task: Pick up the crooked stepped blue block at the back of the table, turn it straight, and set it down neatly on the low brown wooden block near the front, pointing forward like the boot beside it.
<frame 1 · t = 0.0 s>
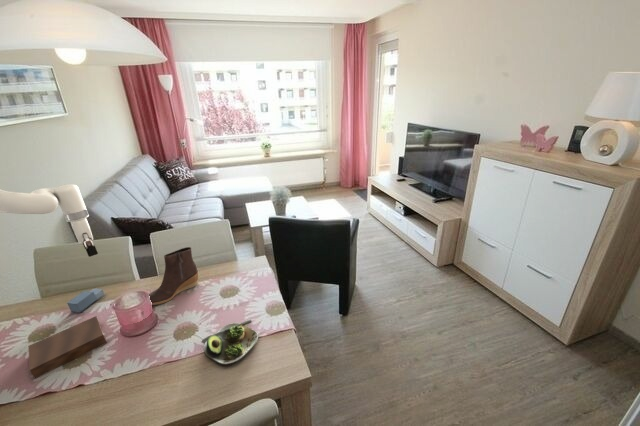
hand: (91, 251, 125), 23 cm above the table, tool pointing down, fingers open, 9 cm apart
salad plate: (230, 345, 104), on the table
boot: (174, 293, 133), on the table
stepped blue block: (88, 303, 129), on the table
brown wooden block: (70, 348, 106), on the table
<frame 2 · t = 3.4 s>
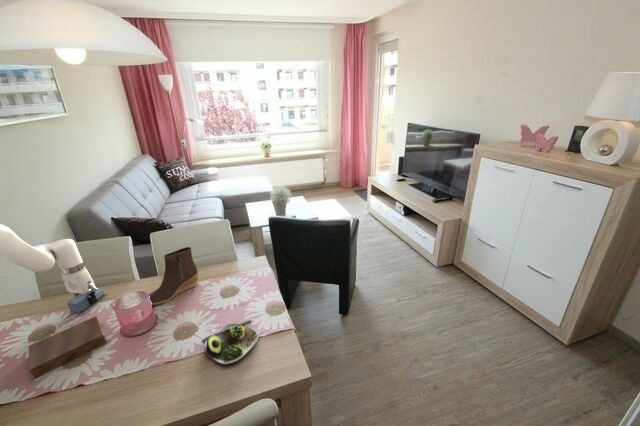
hand: (88, 302, 129), 1 cm above the table, tool pointing down, fingers closed on stepped blue block, 5 cm apart
stepped blue block: (88, 303, 129), on the table, touching gripper
everything else where it was.
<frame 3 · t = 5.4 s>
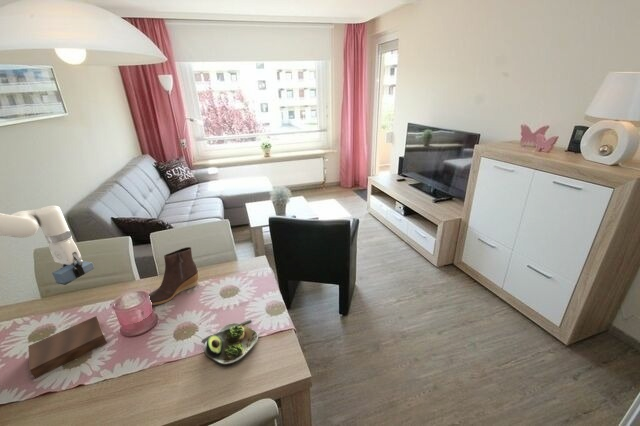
hand: (75, 274, 123), 15 cm above the table, tool pointing down, fingers closed on stepped blue block, 5 cm apart
stepped blue block: (76, 275, 123), point 15 cm above the table, touching gripper
everything else where it was.
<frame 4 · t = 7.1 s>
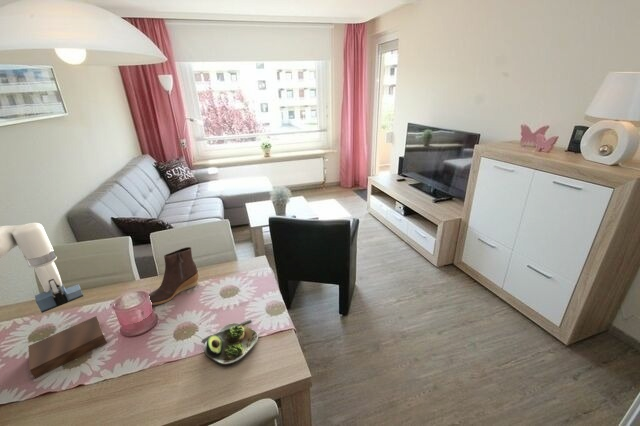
hand: (61, 300, 107), 15 cm above the table, tool pointing down, fingers closed on stepped blue block, 5 cm apart
stepped blue block: (62, 301, 108), point 15 cm above the table, touching gripper
everything else where it was.
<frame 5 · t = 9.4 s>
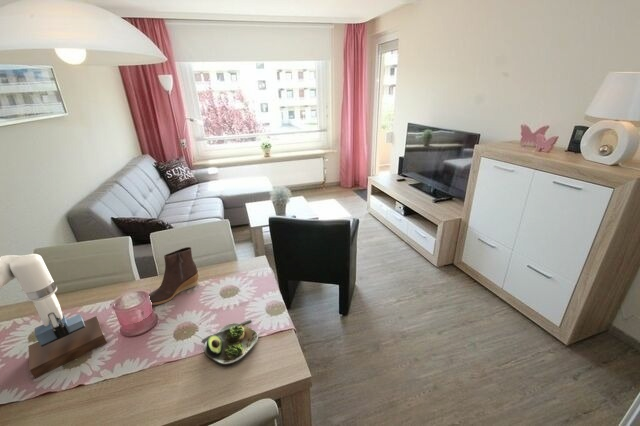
hand: (62, 331, 103), 8 cm above the table, tool pointing down, fingers closed on stepped blue block, 5 cm apart
stepped blue block: (63, 333, 103), point 7 cm above the table, touching gripper
everything else where it was.
when the fingers open (5 cm above the table, at t = 10.7 s): stepped blue block stays where it is, resting on brown wooden block.
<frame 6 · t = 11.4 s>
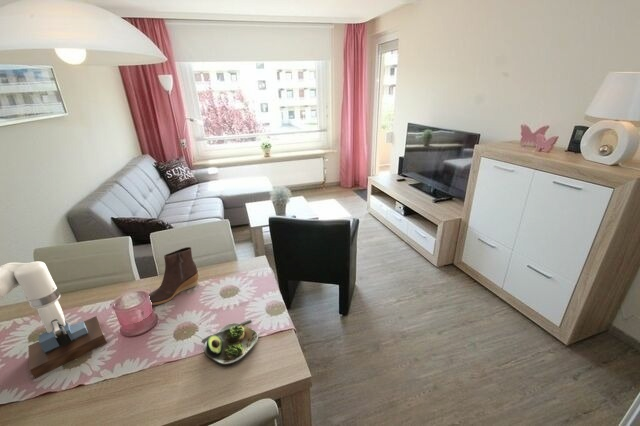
hand: (64, 336, 103), 6 cm above the table, tool pointing down, fingers open, 9 cm apart
stepped blue block: (66, 339, 104), point 4 cm above the table, touching brown wooden block
everything else where it was.
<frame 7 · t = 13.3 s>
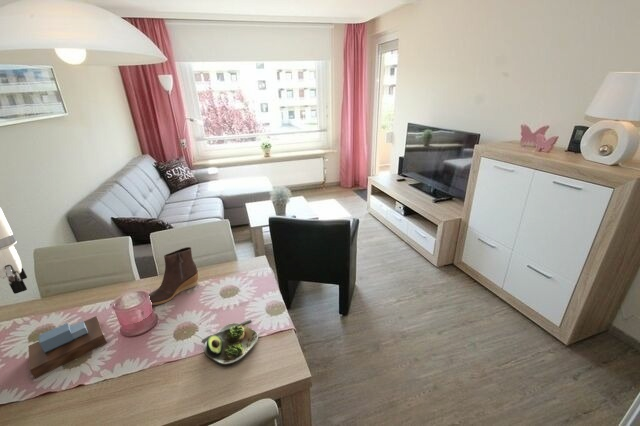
hand: (21, 285, 102), 24 cm above the table, tool pointing down, fingers open, 9 cm apart
nothing on the table moved.
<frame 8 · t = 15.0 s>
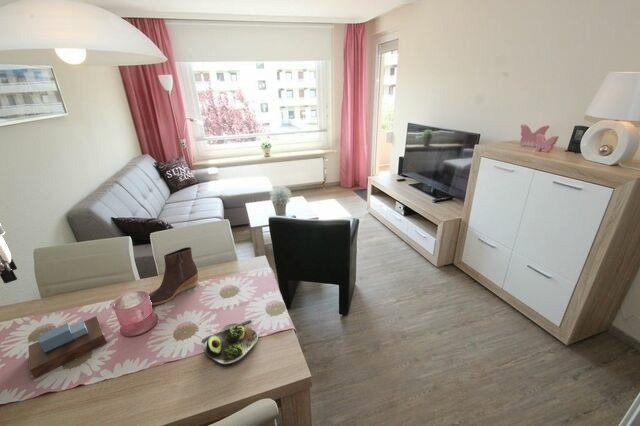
hand: (11, 275, 104), 26 cm above the table, tool pointing down, fingers open, 9 cm apart
nothing on the table moved.
at the end: stepped blue block inside the target area on the brown wooden block (0.1 cm from its centre), point 4.0 cm above the brown wooden block's base; stepped blue block tilted 0°; stepped blue block moved 27.8 cm from its start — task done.
